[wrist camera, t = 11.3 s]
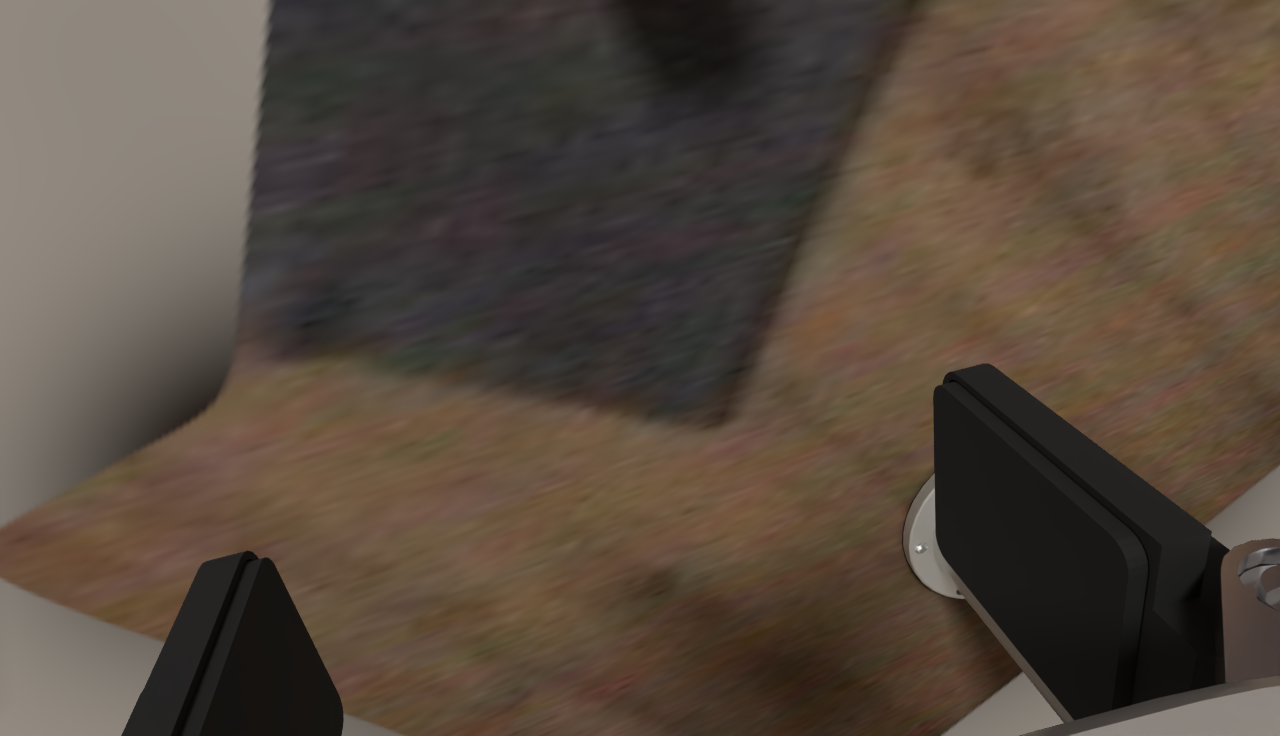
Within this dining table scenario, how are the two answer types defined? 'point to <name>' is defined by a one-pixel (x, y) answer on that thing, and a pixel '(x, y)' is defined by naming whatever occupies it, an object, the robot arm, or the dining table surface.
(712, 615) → the dining table surface
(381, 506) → the dining table surface
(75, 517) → the dining table surface
